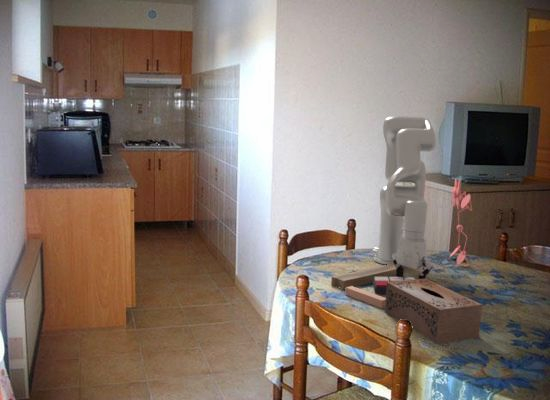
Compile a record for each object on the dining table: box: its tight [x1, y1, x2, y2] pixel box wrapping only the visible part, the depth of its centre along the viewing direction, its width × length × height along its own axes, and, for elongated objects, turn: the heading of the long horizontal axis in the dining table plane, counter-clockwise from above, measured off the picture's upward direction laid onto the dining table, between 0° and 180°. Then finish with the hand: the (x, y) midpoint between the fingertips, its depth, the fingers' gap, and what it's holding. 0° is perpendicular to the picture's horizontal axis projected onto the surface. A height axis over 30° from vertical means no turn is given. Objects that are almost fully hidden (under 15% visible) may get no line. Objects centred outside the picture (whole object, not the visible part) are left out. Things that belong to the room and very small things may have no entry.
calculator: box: [372, 276, 416, 296], centre depth 211 cm, size 11×4×15 cm
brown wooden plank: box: [330, 264, 397, 290], centre depth 222 cm, size 6×32×3 cm, turn 129°
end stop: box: [344, 286, 386, 309], centre depth 199 cm, size 16×3×2 cm, turn 39°
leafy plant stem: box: [433, 178, 473, 268], centre depth 249 cm, size 15×26×35 cm, turn 175°
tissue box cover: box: [384, 278, 483, 345], centre depth 179 cm, size 26×14×10 cm, turn 23°
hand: (410, 282), depth 213 cm, fingers open, 9 cm apart
